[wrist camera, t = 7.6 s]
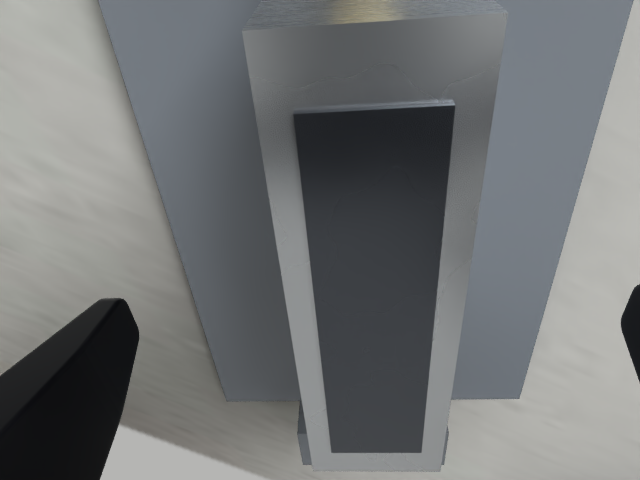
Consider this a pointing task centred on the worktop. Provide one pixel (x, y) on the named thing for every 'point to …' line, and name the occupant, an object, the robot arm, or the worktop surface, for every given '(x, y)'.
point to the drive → (375, 207)
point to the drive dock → (253, 200)
